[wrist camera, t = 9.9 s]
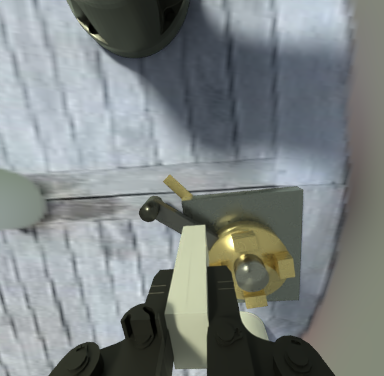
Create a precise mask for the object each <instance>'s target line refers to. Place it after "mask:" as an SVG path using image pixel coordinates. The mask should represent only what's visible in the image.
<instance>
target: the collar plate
mask: <svg viewBox="0 0 384 376" xmlns="http://www.w3.org/2000/svg"><path fill="white" fill-rule="evenodd" d="M163 182H164V183H165V184H166V185H167V186H168V187H169V188H171V189H172V190H173V191H174V192H175V193H176V194H177V195H178V196H179V197H180V198H182V208H183V214H184V215H186V216H188V217H189V218H191V219H193V220H195V221H196V222H198V223H200V224H201V225H205V227H206V228H208V229H210V230H212V231H213V232H215V233H216V232H217V231H219V230H220V229H221V228H222V227H224V226H226V225H228V224H230V223H233V222H237V221H255V222H259V223H261V224H264V225H266V226H267V227H269V228H270V229H271V230H273V231H274V232H275V234H276V235H277V236H278V237H279V239H280V240H281V242H282V243H283V244H284V246H285V247H286V249H287V250H288V252H289V253H290V255H291V256H292V258H293V262H294V270H295V277H291V278H287V279H286V280H285V282H284V283H283V284H282V286H281V287H280V288H279V289H277V290H276V291H275V292H273V293H271V294H270V295H268V296H266V299H267V301H287V300H299V284H300V259H301V233H302V208H303V189H301V188H299V187H297V186H294V187H283V188H272V189H262V190H251V191H240V192H230V193H219V194H208V195H197V196H193V195H192V194H191V193H189V192H188V191H187V190H186V189H185V188H184V187H183V186H182V185H181V184H180V183H179V182H178V181H176V180H175V179H174V178H173V177H172V176H171V175H169V176H168V177H167V178H166V179H165V180H164V181H163ZM237 302H238V303H243V302H245V300H243V299H237Z"/></svg>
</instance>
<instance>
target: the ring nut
mask: <svg viewBox="0 0 384 376" xmlns="http://www.w3.org/2000/svg"><path fill="white" fill-rule="evenodd" d="M139 215H140V217H141V219H142V220H144V221H146V222H152V221H154V220H155V219H156V220H158V221H159V222H161V223H163V224H165V225H166V226H168V227H170V228H172V229H173V230H175V231H177V232H179V233H180V234H182V230H183V226H195V225H201V224H200V223H198V222H196V221H195V220H193V219H191V218H189V217H188V216H186V215H184V214H183V213H181V212H179V211H178V210H176V209H174V208H172V207H171V206H169V205H167V204H166V203H164V202H163V201H162V199H161V198H160V197H158V196H152V197H150V198H149V199H148V200H147V201H146V203H145V204H144V205H143V206H142V207H141V209H140V211H139ZM205 228H206V227H205ZM206 238H207V247H208V256H209V266H224V265H226V266H227V267H228V269H229V270H230V271H231V273H232V277H233V282H234V287H235V292H236V297H237V299H243V300H245V303H246V307H247V309H249V308H256V307H264V306H268V305H267V299H266V296H268V295H270V294H271V293H273V292H275V291H276V290H277V289H279V288H280V287H281V286H282V284H283V283H284V282H285V280H286V279H287V278H291V277H295V270H294V262H293V258H292V256H291V255H290V253H289V252H288V250H287V249H286V247H285V246H284V244H283V243H282V242H281V240H280V239H279V237H278V236H277V235H276V234H275V232H274V231H273V230H271V229H270V228H269V227H267V226H266V225H264V224H261V223H259V222H255V221H237V222H233V223H230V224H228V225H226V226H224V227H222V228H221V229H220V230H219V231H217V232H216V233H215V232H213V231H212V230H210V229H208V228H206Z"/></svg>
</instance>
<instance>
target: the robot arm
mask: <svg viewBox="0 0 384 376" xmlns="http://www.w3.org/2000/svg"><path fill="white" fill-rule="evenodd" d="M66 1H67V3H68V4H69V6H70V8H71V10H72V12H73V14H74V16H75V17H76V19H77V20H78V22H79V23H80V25H81V26H82V27H83V28H84V30H85V31H86V32H87V33H88V34H89V35H90V36H91V37H92V38H93V39H95V40H96V41H97V42H98V43H99V44H100V45H101V46H103V47H104V48H105V49H107V50H109V51H110V52H112V53H114V54H117V55H119V56H123V57H128V58H142V57H146V56H150V55H152V54H155V53H157V52H158V51H160V50H162V49H163V48H164V47H166V46H167V45H168V44H169V43H170V42H171V41H172V40H173V39H174V37H175V36H176V35H177V33H178V32H179V30H180V28H181V26H182V24H183V22H184V20H185V17H186V14H187V11H188V7H189V1H190V0H66ZM121 324H122V328H123V331H124V335H125V339H124V340H123V341H121V342H119V343H117V344H114V345H111V346H108V347H106V348H103V349H99V346H98V345H97V344H95V343H94V342H86V343H83V344H80V345H78V346H77V347H75V348H74V349H72V350H70V351H69V352H68V353H67V354H66V356H65V357H64V358H63V359H62V360H61V361H60V362H59V363H58V365H57V366H56V367H55V368H54V370H53V371H52V372H51V373H50V374H49V376H172V369H173V361H174V365H175V369H207V376H335V375H334V373H333V372H332V371H331V370H330V368H329V367H328V366H327V364H326V363H325V362H324V360H323V359H322V358H321V356H320V355H319V354H318V352H317V351H316V350H315V349H314V348H313V347H312V346H311V345H310V344H309V343H307V342H305V341H304V340H302V339H301V338H298V337H295V336H291V335H290V336H282V337H280V338H279V339H277V340H276V342H275V343H274V342H271V341H268V340H265V339H262V338H259V337H257V336H255V335H253V334H252V333H251V332H249V331H248V329H247V328H246V327H245V326H244V324H243V323H242V320H241V316H240V312H239V307H238V302H237V297H236V292H235V287H234V282H233V277H232V273H231V271H230V270H229V269H228V267H227V266H226V265H224V266H209V256H208V247H207V238H206V228H205V225H195V226H183V230H182V235H181V239H180V244H179V249H178V253H177V258H176V263H175V267H174V269H169V270H160V271H159V272H158V273H157V274H156V276H155V277H154V279H153V282H152V285H151V288H150V290H149V294H148V296H147V299H146V302H145V303H144V304H139V305H137V306H135V307H133V308H131V309H130V310H129V311H128V312H126V313H125V315H124V316H123V318H122V319H121Z"/></svg>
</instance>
